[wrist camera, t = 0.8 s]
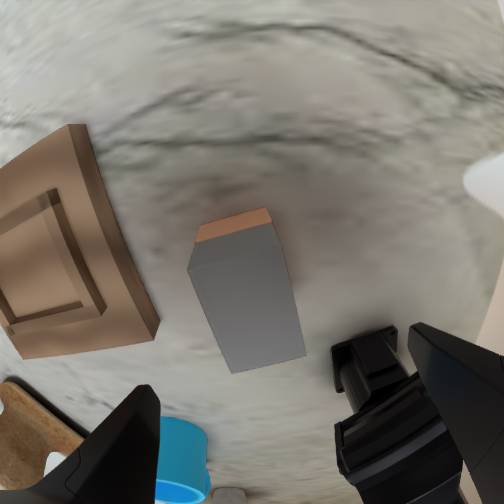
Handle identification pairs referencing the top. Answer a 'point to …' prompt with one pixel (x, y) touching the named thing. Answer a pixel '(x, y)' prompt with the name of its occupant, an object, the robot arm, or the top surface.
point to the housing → (246, 291)
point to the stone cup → (29, 438)
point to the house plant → (229, 496)
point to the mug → (181, 463)
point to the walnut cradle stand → (65, 255)
